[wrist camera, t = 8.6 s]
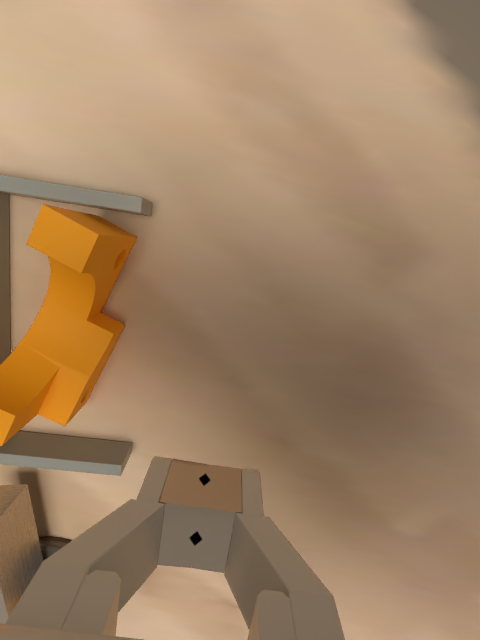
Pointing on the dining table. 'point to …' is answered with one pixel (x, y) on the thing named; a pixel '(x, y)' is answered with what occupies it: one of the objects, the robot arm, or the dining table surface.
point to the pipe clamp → (65, 320)
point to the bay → (23, 445)
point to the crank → (16, 546)
